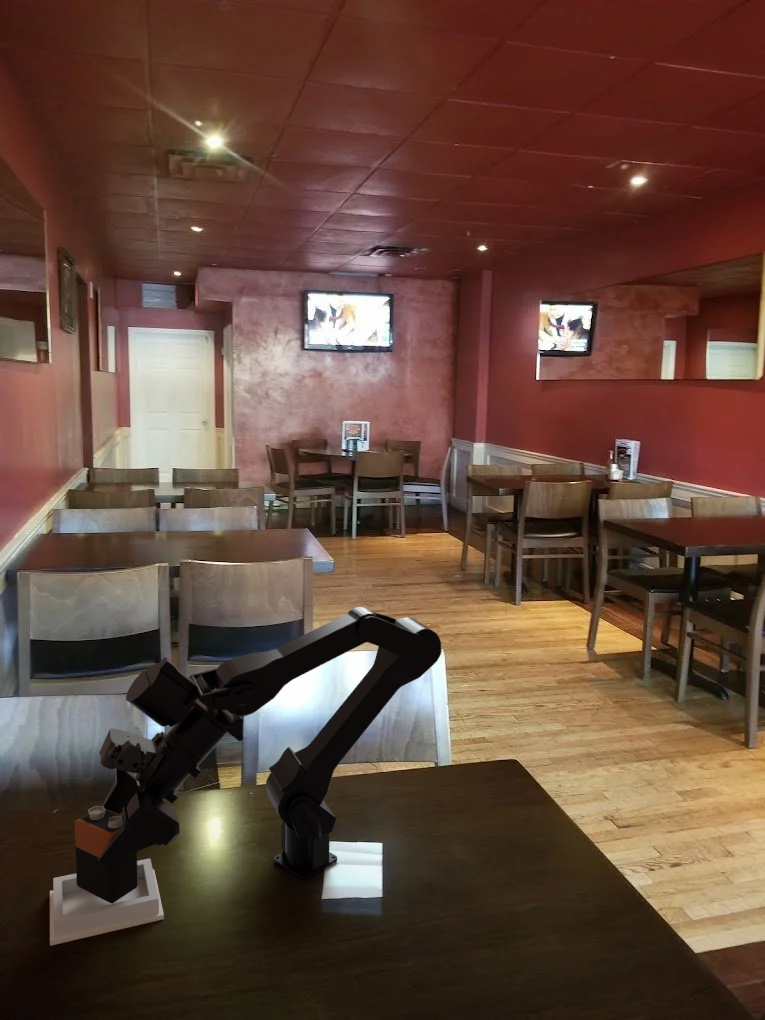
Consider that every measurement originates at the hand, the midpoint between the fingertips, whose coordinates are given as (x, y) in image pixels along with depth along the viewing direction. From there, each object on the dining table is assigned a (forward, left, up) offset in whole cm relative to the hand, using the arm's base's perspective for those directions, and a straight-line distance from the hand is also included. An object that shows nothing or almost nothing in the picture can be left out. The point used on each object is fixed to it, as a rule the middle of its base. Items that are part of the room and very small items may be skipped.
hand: (98, 842), depth 98 cm
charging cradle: (0, 0, -9) cm, 9 cm away
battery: (0, -1, -6) cm, 7 cm away
